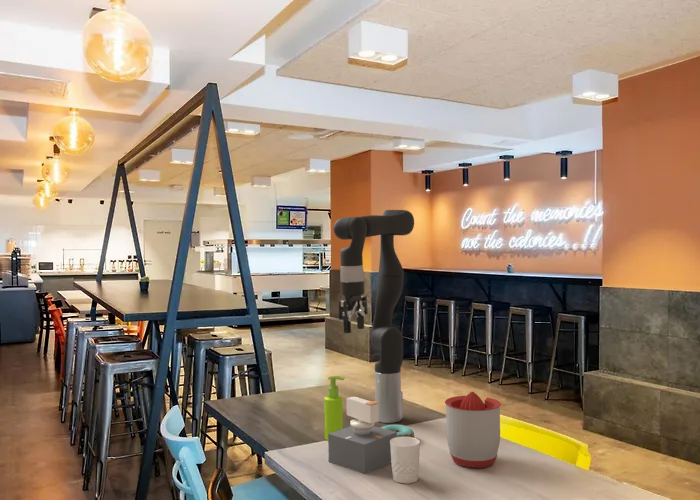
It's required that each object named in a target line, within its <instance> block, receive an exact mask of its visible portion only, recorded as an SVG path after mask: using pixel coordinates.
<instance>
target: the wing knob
mask: <svg viewBox="0 0 700 500" xmlns="http://www.w3.org/2000/svg"><path fill="white" fill-rule="evenodd" d="M378 404H379V402H376V401H375V400H373V401H371V400H367V399H364V398H361V397H357V396H350V397H346V416H348V417H350V418H351V417H352V418H354V419H351V420H350V422H349V423H350V426H351V427H353V428H357V429H367V428H372V427H374V426H376V425H375V423H378V422H379V409H378ZM350 426H349V427H350Z"/></svg>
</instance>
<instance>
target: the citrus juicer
mask: <svg viewBox="0 0 700 500" xmlns="http://www.w3.org/2000/svg"><path fill="white" fill-rule="evenodd" d="M444 403H445V411H446V412H445V423H446V424H445V426H446V428H445V429H446V440H447V445H448V449H449V454H450V456H451V459H452V460H453V462H454V463H455V464H457V465H458V466H462V467H466V468H479V469H485V468H487V467H490V466H492V465H494V464H495V461H496V459H497V457H498V452H499V447H500V443H501V442H500V441H501V401H499V400H497V399H495V398H493V397H486V398H485V400H484V402H483V400H482V398H481V397H480V396H479V395H478V394H477V393H475V391H470V392H469V393H468V394H467V395H457V396H451V397H449V398H447V399H445V401H444Z"/></svg>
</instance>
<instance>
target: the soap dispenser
mask: <svg viewBox="0 0 700 500" xmlns="http://www.w3.org/2000/svg"><path fill="white" fill-rule="evenodd" d="M327 379H328V380H329V381H330V385H329V386H327V396H325V397H324V398H323V402H324V403H323V407H324V409H323V411H324V412H323V413H324V414H323V415H324V439H325V440H326V441H328V434H330V433H332V432H335V431H338V430H341V429H344V426H343V425H344V421H343V420H344V418H343V417H344V414H343V410H344V409H343V397H342V396H340V395H339V386H337V384H336V383H337V382H336V380H341V381H344V380H345V379H346V377H344V376H341V375H331V376H330V375H329V376H328V378H327Z"/></svg>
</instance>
